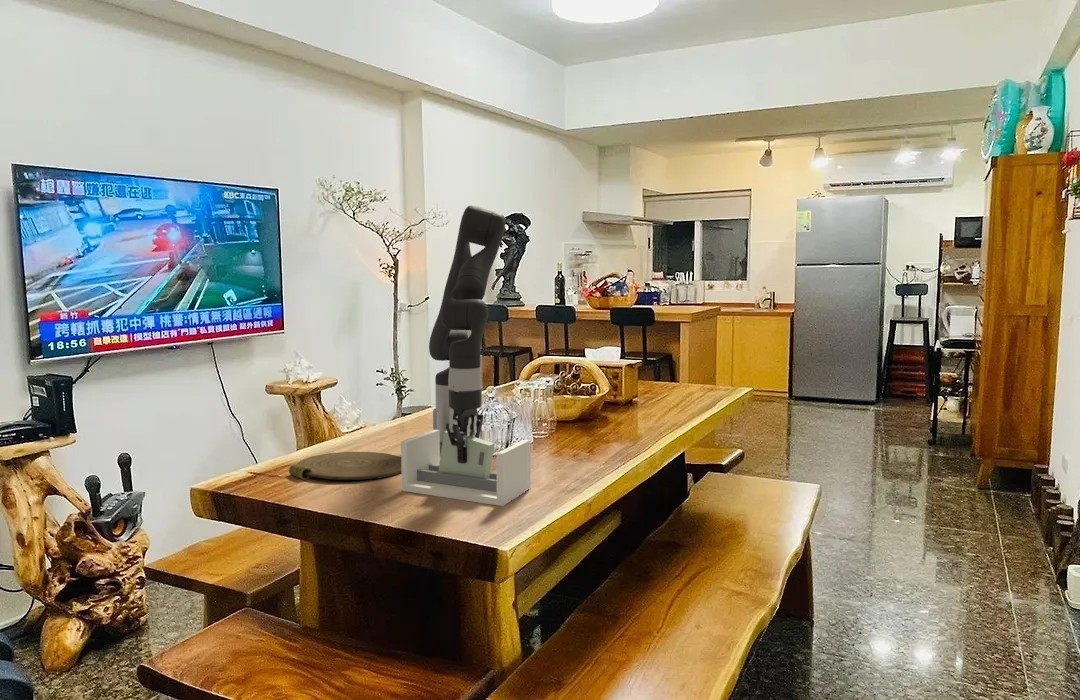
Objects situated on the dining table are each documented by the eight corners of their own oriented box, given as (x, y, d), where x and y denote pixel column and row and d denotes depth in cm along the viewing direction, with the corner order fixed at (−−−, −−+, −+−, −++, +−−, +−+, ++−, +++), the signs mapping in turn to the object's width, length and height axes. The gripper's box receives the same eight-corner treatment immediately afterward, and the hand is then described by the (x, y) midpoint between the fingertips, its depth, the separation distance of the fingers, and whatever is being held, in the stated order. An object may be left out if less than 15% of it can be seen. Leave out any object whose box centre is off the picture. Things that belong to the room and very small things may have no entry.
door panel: (437, 472, 173) (443, 431, 171) (443, 469, 175) (449, 429, 173) (482, 487, 168) (489, 445, 166) (488, 484, 171) (494, 443, 169)
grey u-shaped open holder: (401, 490, 171) (401, 441, 169) (434, 475, 183) (434, 429, 182) (502, 506, 160) (502, 453, 159) (530, 488, 173) (530, 440, 171)
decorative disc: (433, 460, 191) (330, 479, 169) (433, 473, 191) (330, 493, 169) (368, 442, 210) (268, 456, 188) (368, 454, 211) (268, 469, 189)
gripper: (466, 381, 177) (466, 452, 179) (434, 390, 164) (435, 466, 166) (494, 383, 174) (494, 456, 176) (464, 392, 161) (464, 470, 163)
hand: (465, 460), depth 171 cm, fingers closed on door panel, 2 cm apart
